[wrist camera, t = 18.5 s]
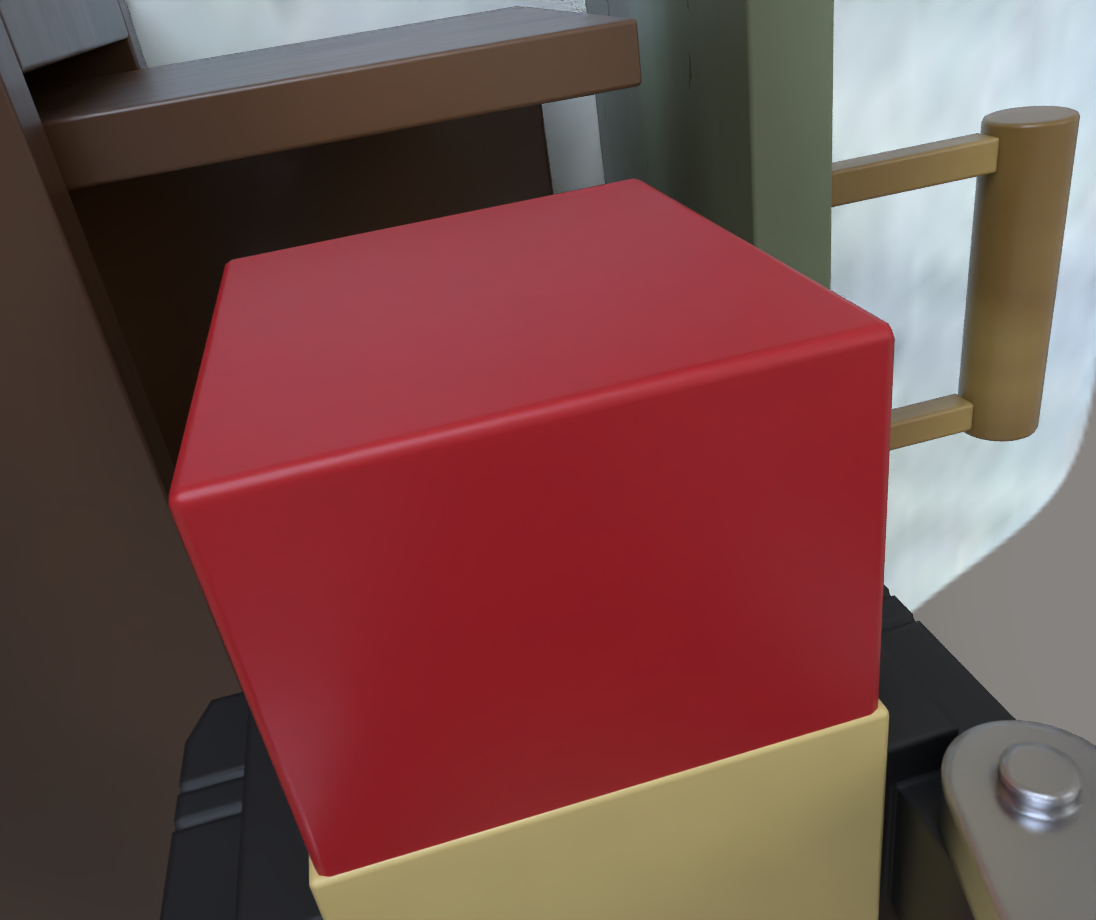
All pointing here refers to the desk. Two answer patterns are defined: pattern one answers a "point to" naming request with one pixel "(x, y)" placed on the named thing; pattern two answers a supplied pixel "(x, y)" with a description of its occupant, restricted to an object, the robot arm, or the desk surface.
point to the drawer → (538, 166)
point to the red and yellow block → (553, 563)
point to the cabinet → (83, 532)
